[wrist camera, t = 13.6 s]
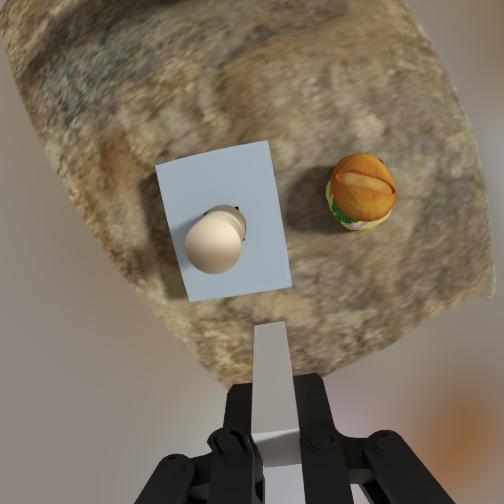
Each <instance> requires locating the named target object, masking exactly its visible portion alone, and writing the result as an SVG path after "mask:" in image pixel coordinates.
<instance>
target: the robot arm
mask: <svg viewBox="0 0 504 504" xmlns="http://www.w3.org/2000/svg"><path fill="white" fill-rule="evenodd" d="M207 443H208V445H209V446H210V448H211V450H212V452H210V453H208V454H206V455H203V456H198V457H194V458H190V459H189V458H188V457H187V456H185V455H183V454H171V455H168V456H166V457H164V458H163V459H162V460H161V461H160V462H159V464H158V466H157V467H156V469H155V470H154V472H153V474H152V475H151V477H150V479H149V480H148V482H147V484H146V485H145V487H144V489H143V490H142V492H141V493H140V495H139V497H138V498H137V500H136V502H135V503H134V504H265V478H264V475H263V465H264V467H277V466H286V465H294V464H300V463H302V472H303V482H304V492H305V502H306V504H354V501H353V496H352V491H351V486H350V484H358V485H359V486H360V488H361V490H362V491H363V493H364V495H365V496H366V498H367V500H368V501H369V503H370V504H455V502H454V501H453V500H452V499H451V498H450V496H449V495H448V494H447V493H446V491H445V490H444V489H443V488H442V487H441V485H440V484H439V483H438V482H437V480H436V479H435V478H434V477H433V476H432V474H431V473H430V472H429V471H428V469H427V468H426V467H425V466H424V465H423V463H422V462H421V461H420V459H419V458H418V457H417V456H416V455H415V453H414V452H413V451H412V450H411V448H410V447H409V446H408V445H407V443H406V442H405V441H404V440H403V439H402V437H401V436H400V435H399V434H397V433H396V432H394V431H391V430H380V431H377V432H374V433H373V434H372V435H370V436H369V437H368V438H352V437H347V436H344V435H342V434H341V433H339V432H338V431H337V430H336V428H335V426H334V422H333V418H332V414H331V410H330V406H329V402H328V399H327V394H326V391H325V386H324V382H323V379H322V378H321V377H320V376H319V375H318V374H317V373H311V374H305V375H299V376H292V369H291V362H290V355H289V348H288V342H287V335H286V329H285V322H284V321H282V322H276V323H269V324H263V325H256V326H255V330H254V362H253V383H244V384H233V386H232V387H231V389H230V390H229V392H228V393H227V400H226V408H225V415H224V423H223V428H220V429H218V430H216V431H214V432H213V433H212V434H211V435H210V436H209V438H208V440H207Z"/></svg>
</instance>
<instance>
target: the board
mask: <svg viewBox="0 0 504 504" xmlns="http://www.w3.org/2000/svg"><path fill="white" fill-rule="evenodd" d="M155 167H156V172H157V177H158V181H159V186H160V191H161V195H162V200H163V204H164V208H165V213H166V217H167V221H168V225H169V229H170V233H171V237H172V241H173V245H174V249H175V252H176V256H177V260H178V263H179V267H180V271H181V274H182V278H183V281H184V284H185V288H186V291H187V294H188V298H189V301H190V302H194V301H201V300H208V299H216V298H223V297H230V296H236V295H243V294H250V293H256V292H262V291H268V290H275V289H281V288H286V287H292V283H291V276H290V269H289V263H288V256H287V249H286V243H285V237H284V230H283V224H282V218H281V212H280V206H279V200H278V195H277V189H276V183H275V178H274V172H273V167H272V161H271V156H270V151H269V145H268V140H267V141H261V142H255V143H249V144H244V145H239V146H234V147H229V148H224V149H219V150H215V151H210V152H206V153H202V154H197V155H193V156H189V157H185V158H181V159H178V160H174V161H170V162H166V163H163V164H159V165H156V166H155ZM219 205H229V206H232V207H237V206H238V208H239V211H240V212H241V213H242V215H243V216H244V218H245V221H246V233H245V236H244V239H243V244H242V249H241V254H240V257H239V259H238V261H237V263H236V264H235V265H234V266H233V267H232V268H231V269H230V270H228V271H226V272H224V273H221V274H207V273H204V272H202V271H200V270H198V269H197V268H195V267H194V266H193V265H192V264H191V262H190V261H189V259H188V257H187V255H186V252H185V240H186V236H187V234H188V232H189V231H190V229H191V228H192V227H193V226H194V225H195V224H196V223H197V222H199V221H200V220H201V219H202V218H203V217H204V216H205V215H206V213H207V212H208V211H209V210H211V209H212V208H214V207H216V206H219Z"/></svg>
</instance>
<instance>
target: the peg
mask: <svg viewBox="0 0 504 504" xmlns="http://www.w3.org/2000/svg"><path fill="white" fill-rule="evenodd" d="M245 233H246V221H245V218H244V216H243V215H242V213H241V212H240V211H239V210H238V209H236V208H234V207H232V206H229V205H219V206H216V207H214V208H212V209H211V210H209V211H208V212H207V213H206V215H205V216H204V217H203V218H202V219H201V220H200V221H199V222H197V223H196V224H195V225H194V226H193V227H192V228H191V229H190V231H189V232H188V234H187V236H186V240H185V252H186V255H187V257H188V259H189V261H190V262H191V264H192V265H193V266H194V267H195V268H197V269H198V270H200V271H202V272H204V273H207V274H221V273H224V272H226V271H228V270H230V269H231V268H232V267H233V266H234V265H235V264H236V263H237V261H238V259H239V257H240V254H241V249H242V244H243V239H244V236H245Z"/></svg>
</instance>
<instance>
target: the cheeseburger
mask: <svg viewBox="0 0 504 504" xmlns="http://www.w3.org/2000/svg"><path fill="white" fill-rule="evenodd" d="M326 198H327V200H328V203H329V207H330V210H331V211H332V213H333V214H334V215H335V217H334V218H335V219H336V220H337V221H338V222H341V223H342V224H343V225H344V226H345V227H346V228H348V229H351V230H368V229H371V228H373V227H374V226H376V225H377V224H379V223H381V222H383V221H384V220H385V219H386V218H387V217H388V215H389V214H390V212H391V209H392V207H393V205H394V202H395V200H396V187H395V184H394V182H393V180H392V178H391V176H390V174H389V172H388V170H387V169H386V167H385V166H384V164H383V161H382V160H380V159H377V158H376V157H374V156H372V155H370V154H367V153H357V154H352V155H349V156H347V157H345V158H343V159H342V160H341V161H339V162H338V164H337V165H336V166H335V168H334V170H333V172H332V174H331V177H330V180H329V182H328V184H327V187H326Z"/></svg>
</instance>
